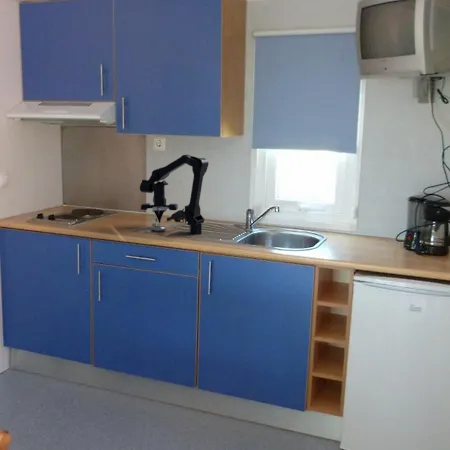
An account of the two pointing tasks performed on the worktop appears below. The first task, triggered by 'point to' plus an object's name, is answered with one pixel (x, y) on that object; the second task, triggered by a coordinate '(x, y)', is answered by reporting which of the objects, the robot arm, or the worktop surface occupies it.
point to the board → (145, 228)
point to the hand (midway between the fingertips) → (159, 222)
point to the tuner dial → (157, 226)
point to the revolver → (177, 216)
